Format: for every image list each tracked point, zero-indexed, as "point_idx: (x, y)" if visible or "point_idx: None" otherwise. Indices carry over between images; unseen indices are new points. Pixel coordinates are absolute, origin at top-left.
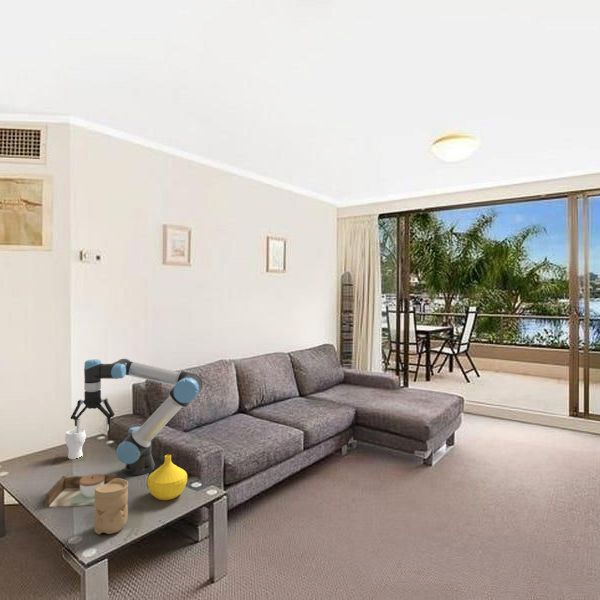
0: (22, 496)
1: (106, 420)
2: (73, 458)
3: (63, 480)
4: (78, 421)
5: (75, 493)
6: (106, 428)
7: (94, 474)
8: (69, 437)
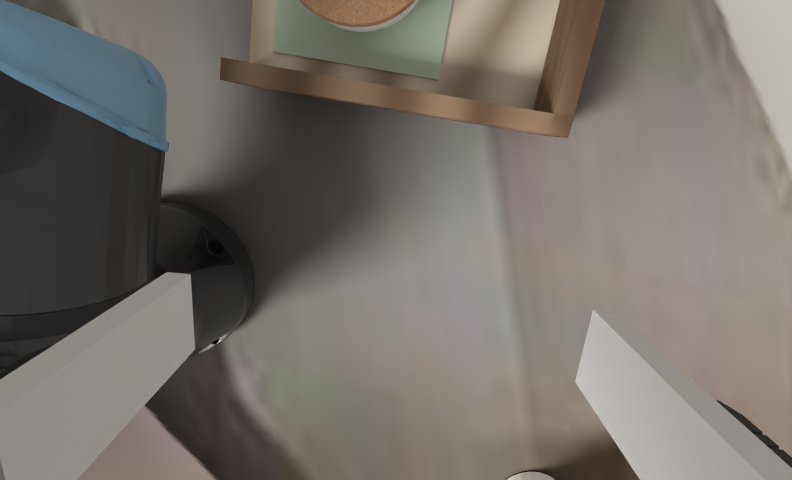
0: (737, 87)
1: (14, 382)
2: (535, 475)
3: (555, 95)
4: (735, 461)
5: (464, 28)
6: (150, 291)
7: (351, 5)
8: None
